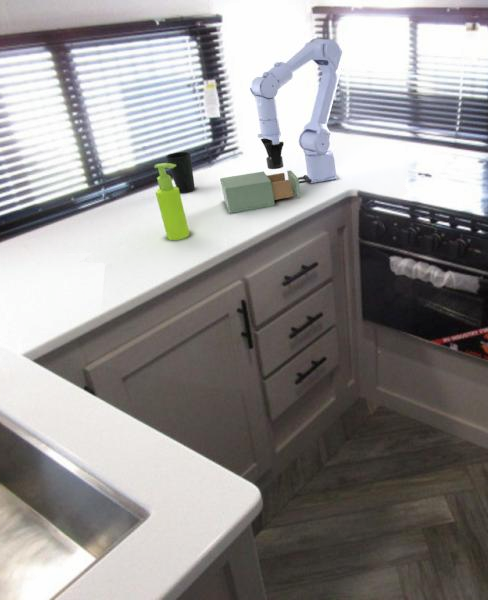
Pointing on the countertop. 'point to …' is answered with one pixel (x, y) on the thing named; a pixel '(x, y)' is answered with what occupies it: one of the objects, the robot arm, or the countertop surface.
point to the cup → (182, 171)
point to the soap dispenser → (171, 205)
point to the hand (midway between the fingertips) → (275, 162)
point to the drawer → (286, 185)
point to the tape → (270, 163)
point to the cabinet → (247, 192)
